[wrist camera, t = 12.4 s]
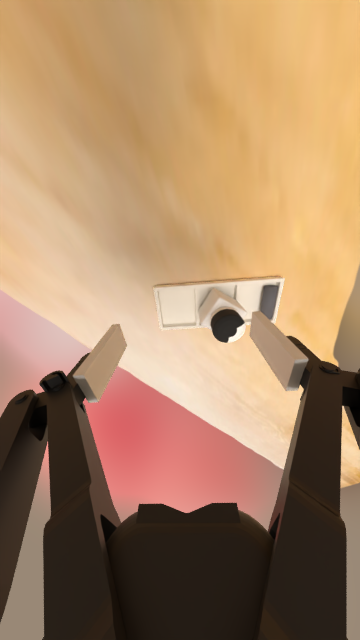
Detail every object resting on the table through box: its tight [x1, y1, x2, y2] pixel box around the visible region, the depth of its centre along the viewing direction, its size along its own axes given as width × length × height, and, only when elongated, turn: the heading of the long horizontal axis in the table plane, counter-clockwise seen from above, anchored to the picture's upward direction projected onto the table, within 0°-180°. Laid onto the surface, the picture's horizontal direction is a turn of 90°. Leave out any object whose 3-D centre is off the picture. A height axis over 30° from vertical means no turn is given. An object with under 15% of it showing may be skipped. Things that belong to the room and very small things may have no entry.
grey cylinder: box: [260, 285, 278, 320], centre depth 39 cm, size 8×3×3 cm
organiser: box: [153, 276, 285, 330], centre depth 40 cm, size 12×30×2 cm, turn 95°
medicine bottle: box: [198, 288, 247, 343], centre depth 34 cm, size 7×7×12 cm
